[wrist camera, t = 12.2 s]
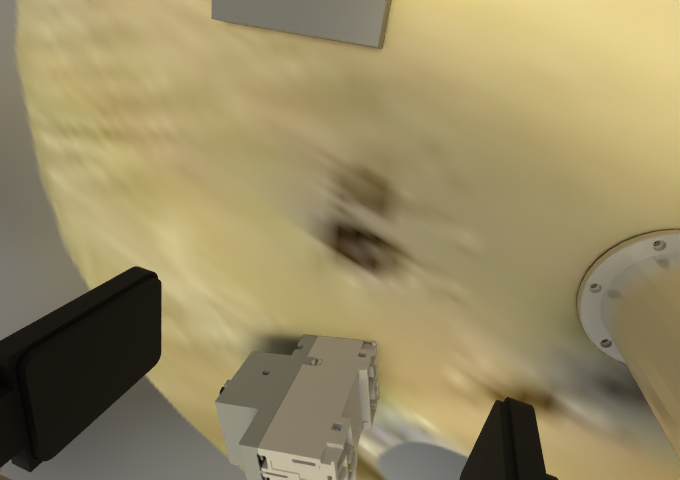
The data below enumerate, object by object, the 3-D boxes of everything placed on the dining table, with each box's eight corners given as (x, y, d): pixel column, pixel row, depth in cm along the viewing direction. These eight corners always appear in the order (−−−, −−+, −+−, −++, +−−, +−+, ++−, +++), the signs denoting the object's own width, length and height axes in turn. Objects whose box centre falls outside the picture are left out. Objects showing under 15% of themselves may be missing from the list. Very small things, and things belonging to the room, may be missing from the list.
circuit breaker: (254, 329, 47) (171, 432, 34) (376, 341, 43) (337, 462, 30) (263, 382, 50) (191, 496, 36) (379, 397, 46) (345, 531, 32)
